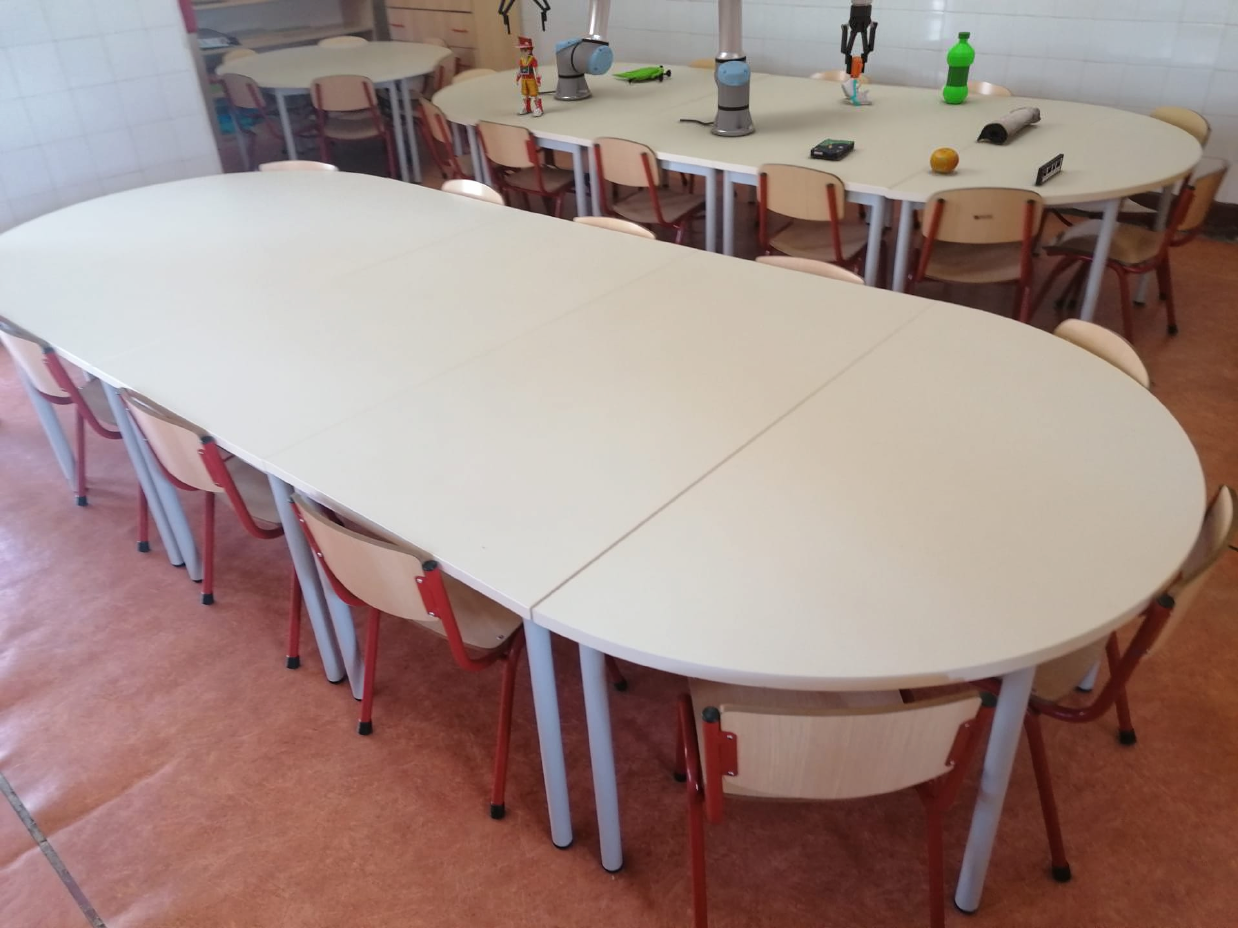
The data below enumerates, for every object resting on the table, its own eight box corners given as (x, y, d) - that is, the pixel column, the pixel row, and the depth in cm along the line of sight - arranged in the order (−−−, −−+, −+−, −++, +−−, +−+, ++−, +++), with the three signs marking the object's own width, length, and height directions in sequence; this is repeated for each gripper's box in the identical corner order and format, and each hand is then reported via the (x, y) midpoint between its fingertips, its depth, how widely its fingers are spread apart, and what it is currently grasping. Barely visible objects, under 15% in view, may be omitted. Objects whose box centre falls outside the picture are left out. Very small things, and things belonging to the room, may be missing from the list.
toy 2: (680, 71, 422) (628, 71, 438) (679, 59, 419) (627, 60, 435) (647, 89, 405) (595, 88, 421) (646, 77, 402) (593, 76, 418)
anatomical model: (836, 76, 365) (861, 69, 364) (839, 102, 371) (863, 95, 370) (847, 84, 352) (872, 77, 352) (849, 111, 358) (874, 104, 358)
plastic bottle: (973, 101, 354) (984, 32, 339) (955, 106, 349) (966, 36, 335) (952, 97, 361) (962, 29, 346) (934, 102, 356) (944, 33, 342)
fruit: (924, 163, 281) (941, 140, 278) (925, 165, 289) (941, 143, 286) (946, 178, 280) (963, 155, 277) (947, 180, 288) (963, 158, 285)
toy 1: (513, 115, 373) (504, 37, 356) (523, 110, 380) (514, 33, 363) (539, 117, 369) (531, 37, 352) (548, 111, 376) (541, 33, 359)
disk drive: (838, 161, 299) (854, 149, 309) (839, 153, 298) (855, 140, 308) (809, 158, 304) (825, 146, 314) (810, 149, 302) (826, 137, 313)
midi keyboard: (1039, 185, 269) (1043, 168, 266) (1035, 184, 270) (1038, 168, 267) (1060, 170, 279) (1064, 154, 277) (1056, 169, 280) (1060, 153, 277)
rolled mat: (1008, 112, 326) (1032, 94, 318) (1022, 133, 327) (1046, 116, 319) (972, 135, 309) (997, 117, 301) (987, 157, 310) (1012, 140, 301)
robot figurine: (863, 79, 335) (866, 56, 331) (852, 80, 335) (854, 57, 330) (856, 76, 340) (858, 53, 336) (845, 77, 340) (847, 54, 335)
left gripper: (551, -33, 342) (556, 28, 354) (486, -28, 338) (493, 34, 350) (554, -31, 335) (559, 31, 348) (488, -26, 332) (495, 37, 344)
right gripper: (880, 1, 327) (872, 69, 341) (834, 5, 325) (828, 73, 338) (889, 3, 321) (881, 73, 335) (842, 7, 319) (836, 77, 332)
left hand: (526, 32), depth 349 cm, fingers open, 13 cm apart
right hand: (855, 73), depth 336 cm, fingers closed on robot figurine, 5 cm apart
